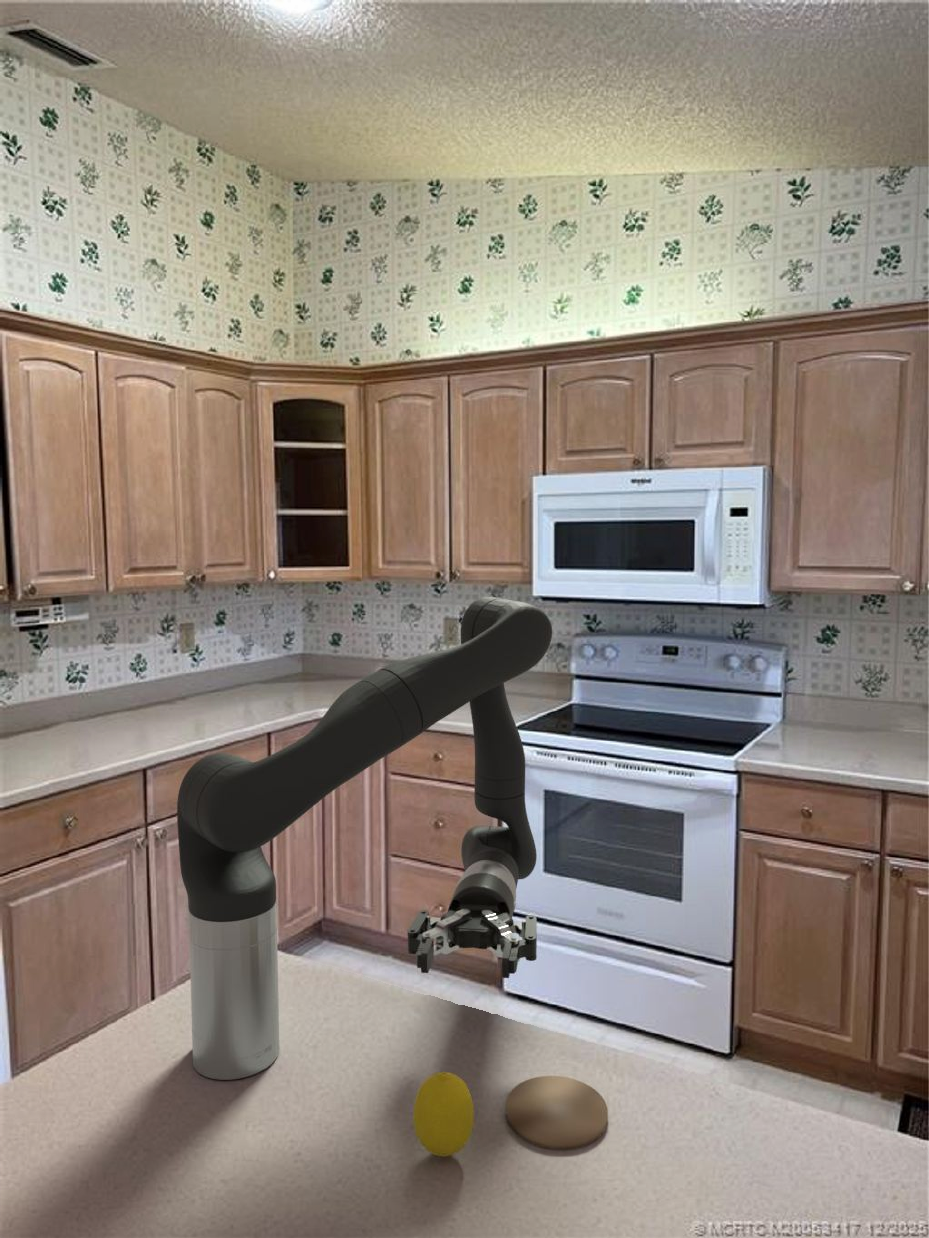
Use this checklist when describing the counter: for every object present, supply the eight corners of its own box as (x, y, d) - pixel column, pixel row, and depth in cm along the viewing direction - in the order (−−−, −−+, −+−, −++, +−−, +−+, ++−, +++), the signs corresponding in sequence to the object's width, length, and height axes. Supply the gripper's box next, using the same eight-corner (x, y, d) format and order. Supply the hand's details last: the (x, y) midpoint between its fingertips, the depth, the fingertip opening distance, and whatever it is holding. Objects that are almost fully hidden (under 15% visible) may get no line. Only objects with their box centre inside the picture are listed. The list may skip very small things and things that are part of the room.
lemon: (467, 1181, 77) (467, 1095, 76) (406, 1172, 78) (406, 1087, 77) (478, 1139, 82) (479, 1058, 81) (422, 1131, 83) (421, 1051, 82)
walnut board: (484, 1111, 86) (484, 1103, 86) (553, 1071, 93) (553, 1063, 93) (559, 1165, 79) (559, 1157, 79) (628, 1117, 85) (628, 1109, 85)
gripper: (426, 869, 107) (396, 929, 91) (542, 874, 105) (532, 936, 89) (427, 927, 107) (398, 997, 91) (542, 933, 105) (533, 1006, 89)
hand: (464, 967), depth 90 cm, fingers open, 8 cm apart
